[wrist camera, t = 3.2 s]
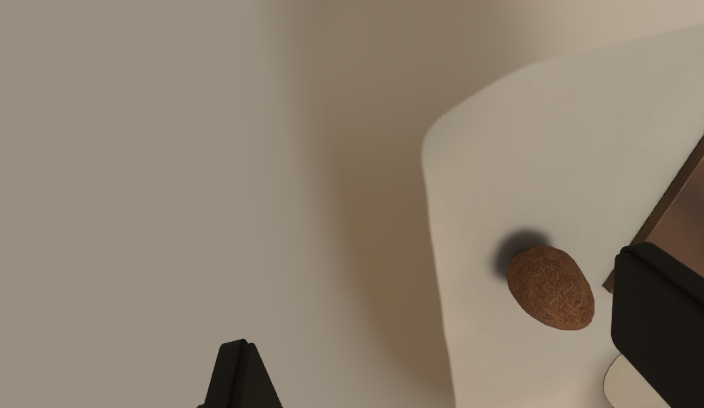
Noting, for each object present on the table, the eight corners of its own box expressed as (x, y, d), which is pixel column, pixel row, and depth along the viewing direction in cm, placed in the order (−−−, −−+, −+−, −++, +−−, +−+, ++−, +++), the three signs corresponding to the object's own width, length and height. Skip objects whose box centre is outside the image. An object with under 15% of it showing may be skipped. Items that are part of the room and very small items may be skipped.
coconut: (522, 291, 36) (574, 362, 29) (481, 264, 35) (525, 332, 27) (567, 248, 35) (634, 311, 27) (526, 218, 33) (585, 277, 26)
